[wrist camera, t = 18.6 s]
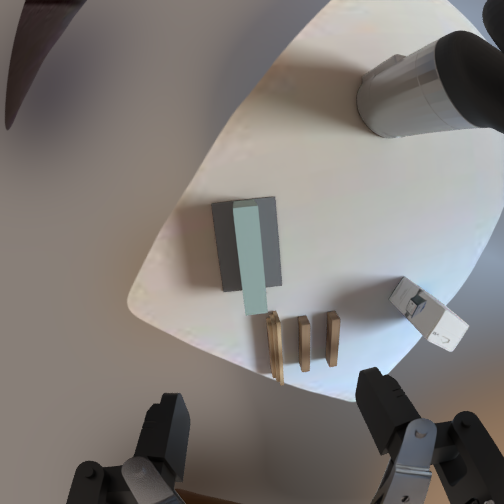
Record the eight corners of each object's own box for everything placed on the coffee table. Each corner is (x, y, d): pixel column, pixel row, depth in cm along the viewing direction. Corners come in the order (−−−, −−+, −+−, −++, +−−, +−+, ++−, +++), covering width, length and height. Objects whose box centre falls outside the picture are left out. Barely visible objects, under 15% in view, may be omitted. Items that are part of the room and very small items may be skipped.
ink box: (430, 294, 40) (471, 325, 28) (415, 318, 41) (452, 353, 30) (403, 275, 38) (447, 307, 27) (386, 301, 39) (425, 340, 28)
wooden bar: (265, 311, 39) (269, 323, 35) (275, 310, 39) (280, 322, 35) (271, 372, 42) (274, 386, 39) (279, 371, 42) (283, 384, 39)
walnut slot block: (298, 316, 39) (301, 325, 37) (334, 310, 39) (340, 319, 37) (299, 362, 41) (302, 372, 39) (332, 356, 42) (336, 365, 39)
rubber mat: (211, 203, 34) (211, 203, 33) (274, 196, 34) (275, 196, 34) (223, 291, 37) (223, 292, 37) (281, 284, 37) (282, 285, 37)
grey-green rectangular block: (232, 208, 27) (245, 315, 30) (257, 205, 27) (267, 312, 30) (233, 201, 34) (244, 290, 37) (253, 199, 34) (262, 288, 37)
